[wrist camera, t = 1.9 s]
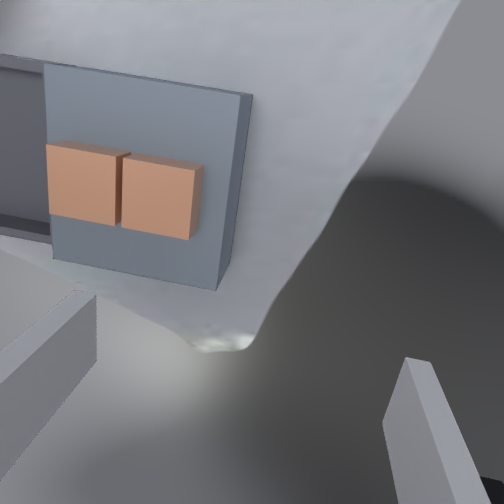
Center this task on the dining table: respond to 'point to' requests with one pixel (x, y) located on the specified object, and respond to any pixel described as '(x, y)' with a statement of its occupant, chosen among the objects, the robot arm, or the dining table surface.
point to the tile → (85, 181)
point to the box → (24, 150)
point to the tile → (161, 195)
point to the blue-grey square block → (157, 144)
